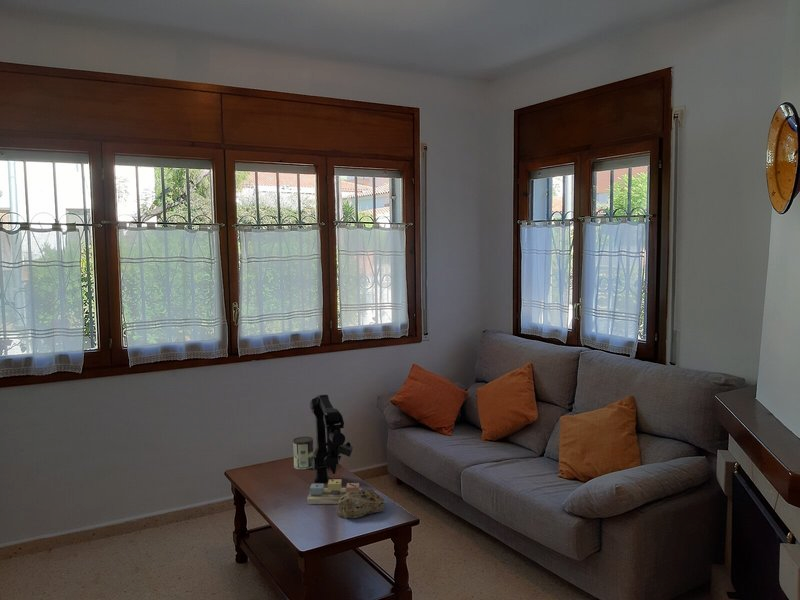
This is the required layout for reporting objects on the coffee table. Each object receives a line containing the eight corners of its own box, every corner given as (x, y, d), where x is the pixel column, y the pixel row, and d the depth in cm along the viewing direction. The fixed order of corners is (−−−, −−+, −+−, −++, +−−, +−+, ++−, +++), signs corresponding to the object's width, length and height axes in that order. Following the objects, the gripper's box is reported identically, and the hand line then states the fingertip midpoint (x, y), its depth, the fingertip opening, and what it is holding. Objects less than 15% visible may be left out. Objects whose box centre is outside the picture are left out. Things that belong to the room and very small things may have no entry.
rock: (369, 502, 288) (374, 482, 285) (387, 520, 276) (391, 499, 274) (329, 509, 276) (333, 488, 274) (345, 528, 264) (349, 506, 262)
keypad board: (311, 493, 296) (311, 488, 296) (361, 492, 296) (361, 487, 296) (307, 504, 285) (307, 498, 284) (359, 503, 284) (359, 497, 284)
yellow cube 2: (329, 491, 293) (329, 479, 292) (341, 491, 293) (341, 478, 292) (328, 496, 287) (327, 483, 287) (340, 496, 287) (340, 483, 287)
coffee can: (309, 461, 341) (308, 435, 339) (317, 467, 332) (316, 440, 331) (290, 465, 335) (289, 438, 334) (298, 471, 326) (297, 443, 325)
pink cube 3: (347, 495, 293) (347, 482, 292) (359, 495, 293) (359, 482, 292) (346, 500, 287) (345, 487, 287) (358, 500, 287) (358, 487, 287)
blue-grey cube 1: (312, 495, 293) (311, 483, 293) (324, 495, 293) (323, 483, 293) (310, 500, 288) (309, 487, 287) (322, 500, 288) (322, 487, 287)
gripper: (349, 445, 279) (350, 481, 280) (353, 433, 297) (354, 466, 298) (323, 446, 279) (324, 481, 280) (328, 433, 297) (329, 466, 299)
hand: (334, 473), depth 289 cm, fingers closed
